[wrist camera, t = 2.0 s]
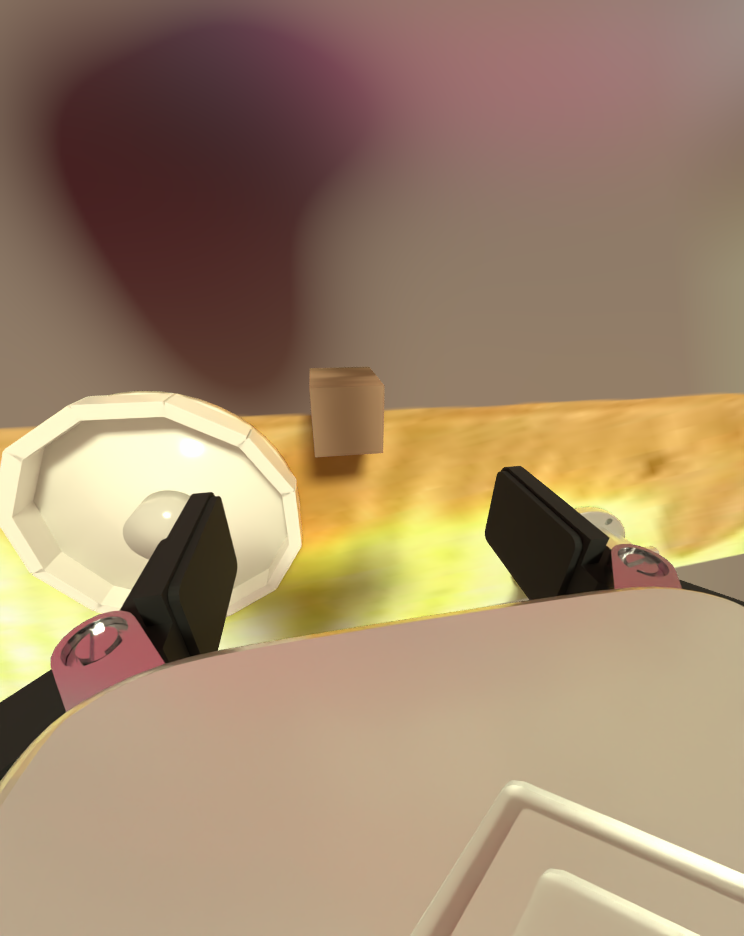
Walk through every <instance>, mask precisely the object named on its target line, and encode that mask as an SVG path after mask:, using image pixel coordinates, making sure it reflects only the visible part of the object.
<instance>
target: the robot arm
mask: <svg viewBox="0 0 744 936" xmlns="http://www.w3.org/2000/svg"><path fill="white" fill-rule="evenodd" d="M485 537H486V540H487V542H488V543H489V545H490V546H491V547H492V549H493V550H494V552H495V553H496V554H497V556H498V557H499V558H500V560H501V561H502V563H503V564H504V565H505V567H506V568H507V569H508V571H509V572H510V574H511V575H512V576H513V578H514V579H515V580H516V582H517V583H518V585H519V586H520V587H521V589H522V590H523V591H524V593H525V594H526V596H527V597H528V598H529V600H528V601H522V602H515V603H509V604H502V605H495V606H488V607H482V608H475V609H469V610H462V611H456V612H449V613H443V614H436V615H430V616H423V617H417V618H411V619H404V620H398V621H391V622H385V623H379V624H372V625H366V626H360V627H354V628H348V629H341V630H335V631H329V632H323V633H317V634H310V635H304V636H298V637H292V638H286V639H280V640H274V641H269V642H263V643H257V644H252V645H246V646H241V647H235V648H229V649H224V650H219V651H218V648H219V643H220V639H221V635H222V631H223V627H224V623H225V619H226V615H227V611H228V607H229V603H230V599H231V595H232V591H233V586H234V582H235V578H236V574H237V558H236V554H235V550H234V546H233V542H232V538H231V534H230V530H229V526H228V523H227V519H226V515H225V511H224V507H223V503H222V499H221V497H220V496H215V495H214V493H213V492H206V493H194V494H192V495H191V496H190V498H189V499H188V501H187V503H186V505H185V506H184V508H183V510H182V512H181V513H180V515H179V517H178V519H177V520H176V522H175V524H174V526H173V528H172V529H171V531H170V533H169V535H168V536H167V538H166V539H163V540H161V541H160V543H159V544H158V545H157V547H156V549H155V551H154V552H153V554H152V556H151V557H150V559H149V561H148V563H147V564H146V566H145V568H144V569H143V571H142V573H141V574H140V576H139V578H138V580H137V581H136V583H135V585H134V586H133V588H132V590H131V592H130V593H129V595H128V597H127V598H126V600H125V602H124V604H123V605H122V607H121V609H120V610H119V611H110V612H107V613H103V614H99V615H97V616H95V617H93V618H90V619H88V620H86V621H85V622H83V623H81V624H80V625H78V626H77V627H75V628H74V629H73V630H71V631H70V632H69V633H68V634H67V635H66V636H65V637H63V639H62V640H61V641H60V642H59V644H58V645H57V646H56V647H55V649H54V651H53V654H52V656H51V670H50V671H48V672H47V673H45V674H44V675H42V676H40V677H39V678H37V679H36V680H34V681H33V682H31V683H30V684H28V685H27V686H25V687H23V688H22V689H20V690H19V691H17V692H16V693H14V694H13V695H11V696H10V697H8V698H6V699H5V700H3V701H2V702H0V936H744V602H743V601H740V600H737V599H734V598H731V597H728V596H725V595H723V594H720V593H716V592H714V591H711V590H708V589H705V588H702V587H699V586H696V585H693V584H691V583H687V582H685V581H682V580H679V578H678V575H677V572H676V570H675V568H674V567H673V565H672V564H671V563H670V562H669V561H668V560H667V559H665V558H664V557H662V556H661V555H659V551H658V550H657V549H656V548H655V547H653V546H650V547H641V546H637V545H633V544H632V543H630V542H629V541H628V540H626V539H625V531H624V527H623V525H622V523H621V521H620V520H618V519H617V518H616V517H615V516H614V515H612V514H611V513H609V512H608V511H606V510H603V509H600V508H595V507H583V508H577V509H574V508H572V507H571V506H570V505H569V504H567V503H566V502H565V501H564V500H562V499H561V498H560V497H559V496H558V495H556V494H555V493H554V492H553V491H551V490H550V489H549V488H548V487H546V486H545V485H544V484H543V483H541V482H540V481H539V480H538V479H536V478H535V477H534V476H533V475H532V474H530V473H529V472H528V471H527V470H525V469H524V468H523V467H521V466H514V467H504V468H503V469H502V470H501V472H498V474H497V477H496V481H495V486H494V491H493V496H492V500H491V505H490V510H489V515H488V519H487V524H486V529H485Z"/></svg>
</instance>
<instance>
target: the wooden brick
mask: <svg viewBox="0 0 744 936" xmlns="http://www.w3.org/2000/svg"><path fill="white" fill-rule="evenodd" d="M309 391H310V403H311V415H312V427H313V439H314V451H315V457H329V456H344V455H360V454H375V453H383V431H384V385H383V383H382V382H381V381H380V380H379V378H378V377H377V376H376V375H375V373H374V372H373V371H372V370H371V369H370V367H343V368H310V379H309Z"/></svg>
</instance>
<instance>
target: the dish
mask: <svg viewBox="0 0 744 936" xmlns="http://www.w3.org/2000/svg"><path fill="white" fill-rule="evenodd" d="M4 450H5V451H3V455H2V461H1V467H0V527H1V529H2V530H3V532H4V533H5V535H6V537H7V538H8V540H9V541H10V543H11V544H12V546H13V547H14V549H15V550H16V552H17V554H18V555H19V557H20V558H21V560H22V561H23V563H24V564H25V566H26V568H27V569H28V571H29V572H30V573H33V574H32V575H33V576H35V577H37V578H38V579H40V580H42V581H43V582H45V583H47V584H48V585H50V586H52V587H53V588H55V589H57V590H58V591H60V592H62V593H64V594H65V595H67V596H69V597H70V598H72V599H74V600H75V601H77V602H79V603H80V604H82V605H84V606H86V607H87V608H89V609H91V610H92V611H94V610H96V611H95V612H99V613H107V612H110V611H119V610H120V609H121V607H122V605H123V604H124V602H125V600H126V598H127V597H128V595H129V593H130V592H131V590H132V588H133V586H134V585H135V583H136V581H137V580H138V578H139V576H140V574H141V573H142V571H143V569H144V568H145V566H146V564H147V563H148V561H149V559H150V557H151V556H152V554H153V552H154V551H155V549H156V547H157V545H158V544H159V543H160V541H161V540H163V539H166V538H167V536H168V535H169V533H170V531H171V529H172V528H173V526H174V524H175V522H176V520H177V519H178V517H179V515H180V513H181V512H182V510H183V508H184V506H185V505H186V503H187V501H188V499H189V498H190V496H191V495H192V494H194V493H206V492H213V493H214V495H215V496H220V497H221V499H222V503H223V507H224V511H225V515H226V519H227V523H228V526H229V530H230V534H231V538H232V542H233V546H234V550H235V554H236V558H237V574H236V578H235V582H234V586H233V591H232V595H231V599H230V603H229V607H228V611H227V615H226V617H227V616H230V615H232V614H234V613H236V612H237V611H239V610H241V609H243V608H244V607H246V606H248V605H250V604H251V603H253V602H255V601H257V600H259V599H260V598H262V597H264V596H266V595H267V594H269V593H271V592H273V591H274V590H275V589H277V587H278V586H279V584H280V582H281V580H282V579H283V577H284V575H285V574H286V572H287V570H288V569H289V567H290V565H291V563H292V562H293V560H294V558H295V557H296V555H297V553H298V551H299V550H300V548H301V545H302V524H301V515H300V498H299V493H298V488H297V481H296V480H295V479H296V478H295V477H294V475H293V474H292V472H291V470H290V468H289V466H288V464H287V463H286V461H285V459H284V458H283V457H282V455H281V454H280V453H279V451H278V450H277V448H276V447H275V446H274V445H273V444H272V443H271V442H270V441H269V440H268V439H267V438H266V437H265V436H264V435H263V434H262V433H260V432H259V431H258V430H257V429H256V428H254V427H253V426H252V425H251V424H249V423H248V422H246V421H244V420H243V419H241V418H240V417H238V416H237V415H235V414H233V413H231V412H229V411H227V410H225V409H223V408H221V407H219V406H217V405H214V404H211V403H209V402H206V401H203V400H200V399H197V398H193V397H189V396H185V395H181V394H175V393H167V392H159V391H134V392H124V393H117V394H112V395H108V396H89V397H86V398H84V399H81V400H79V401H77V402H75V403H73V404H70V405H68V406H66V407H65V408H64V409H62V410H61V411H59V412H58V413H56V414H55V415H53V416H52V417H51V418H49V419H48V420H46V421H45V422H43V423H42V424H41V425H39V426H38V427H36V428H35V429H33V430H32V431H30V432H29V433H27V434H26V435H25V436H23V437H22V438H20V439H19V440H17V441H16V442H14V443H13V444H12V445H10V446H9V447H7V448H6V449H4Z"/></svg>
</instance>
